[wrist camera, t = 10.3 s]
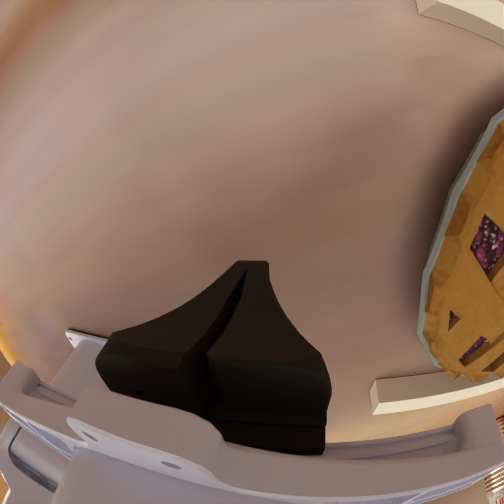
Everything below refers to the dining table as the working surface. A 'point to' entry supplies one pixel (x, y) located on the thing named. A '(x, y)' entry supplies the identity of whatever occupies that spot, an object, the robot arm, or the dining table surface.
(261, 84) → the dining table surface
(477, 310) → the pie
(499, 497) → the water bottle
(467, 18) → the serving corral
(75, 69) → the dining table surface
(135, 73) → the dining table surface
